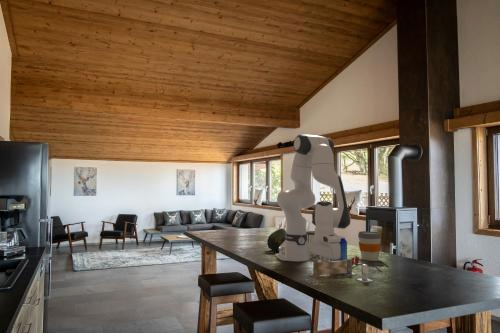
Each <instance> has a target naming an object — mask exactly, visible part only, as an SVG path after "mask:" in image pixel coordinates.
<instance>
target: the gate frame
mask: <svg viewBox="0 0 500 333" xmlns="http://www.w3.org/2000/svg"><path fill="white" fill-rule="evenodd" d="M367 265H368V264H367V263H361V277H360V278H356V279H355V280H356V281H358V282H361V283H363V284H364V283H365V284H366V283H372V282H374V280H373V279H371V278H368V266H367ZM340 274H342V275H344V276H346V277H348V276H349V277H351V275H352V276H358V274H357V273H355V272H353V271H352V273H351V274H348V273H340Z"/></svg>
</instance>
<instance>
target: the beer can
mask: <svg viewBox="0 0 500 333" xmlns="http://www.w3.org/2000/svg"><path fill="white" fill-rule="evenodd" d="M338 236H339V237H340V238H341V241H340V242H339V243H340V248H341V255H340V259H339V260H332V259H330V260H329V261H340V260H346V259H348V242H347V241H348V240H346V236H341V235H338Z"/></svg>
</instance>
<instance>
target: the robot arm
mask: <svg viewBox="0 0 500 333" xmlns="http://www.w3.org/2000/svg"><path fill="white" fill-rule="evenodd" d="M293 148H294V151H295V153H294V157H293V161H292V168H291V171H290V172H291V173H290V179H291V181H292V182H293V184H294V189H285V190H282V191H280V192H279V193H278V194H277V196H276V202H277V205H278V206H279V207H280V208H281V209H282V211H283V213H284V216H285V222H286V224H285V225H286V234H285V235H286V236H285V241H284V242H283V243H282V244H281V245H280V247H279V252H277V253H275V255H274V256H275V257H276V258H278V259H279V260H280V261H287V262H307V261H309V260H311V259H313V258H312V257H311V256H310V252H309V244H308V243H307V234H306V232H307V219H306V218H305V217H304V216H303V215H302V212H301V210H303V209H308V208H310V207H312V206H314V205H315V208H314V209H313V211H311V216H312V217H311V224H313V225H314V227H315V228H314V231H315V234H314V235H313V236H312V240H311V247H310V251H311V253H313V254H316V255H319V256H320V258H319V260H320V262H327V261H330V259H332V260H339V259H340V255H341V248H340V243H339V242H340V241H341V238H340V237H339V236H340V235H338V234H336V233H335V228H336V229H342V230H345V229H347V227H349V226H350V225H351V221H352V217H351V214H350V211H349V206H348V203H347V198H346V192H345V188H344V185H343V180H342V178H341V176H340V175H338V174H337V172H336V170H335V165H334V161H335V160H334V154H333V152H334V150H335V143H334V141H333V140H332V138H329V137H327V136H321V135H316V134H314V135H313V134H305V133H303V134H298V135H297V136H296V137H295V139H294V141H293ZM312 177H313V179H314V180H315V181H316V182H318V183H319V184H322V185H324V186H327V187H329V188H331V189H333V190H334V191H335V194H336V199H337V203H338V207H334V206H333V204H332V202H330V201H328V200H325V201H324V200H323V201H318V202H316V195H315V193H314V192H313V190H312V187H311V186H312V185H311V178H312ZM315 202H316V203H315Z"/></svg>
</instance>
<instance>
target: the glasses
mask: <svg viewBox="0 0 500 333" xmlns="http://www.w3.org/2000/svg"><path fill="white" fill-rule="evenodd" d="M351 259H352V267H353V265H357V266H362V263H361V264H360V263H359V262H360V261H365V262H371V261H370V260H362V258H360V256H358V255H355V256H354V257H352V258H351ZM372 262H375V263H382V264H384V266H386V268H389V266H388V264H386V263H384V262H382V261H380V260H378V261H372ZM367 267H374V268H376V270H377V271H379V272H381V273H382V272H383V271H382V270H381V269H379V268H378V267H377V266H375V265H368V264H367Z"/></svg>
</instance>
